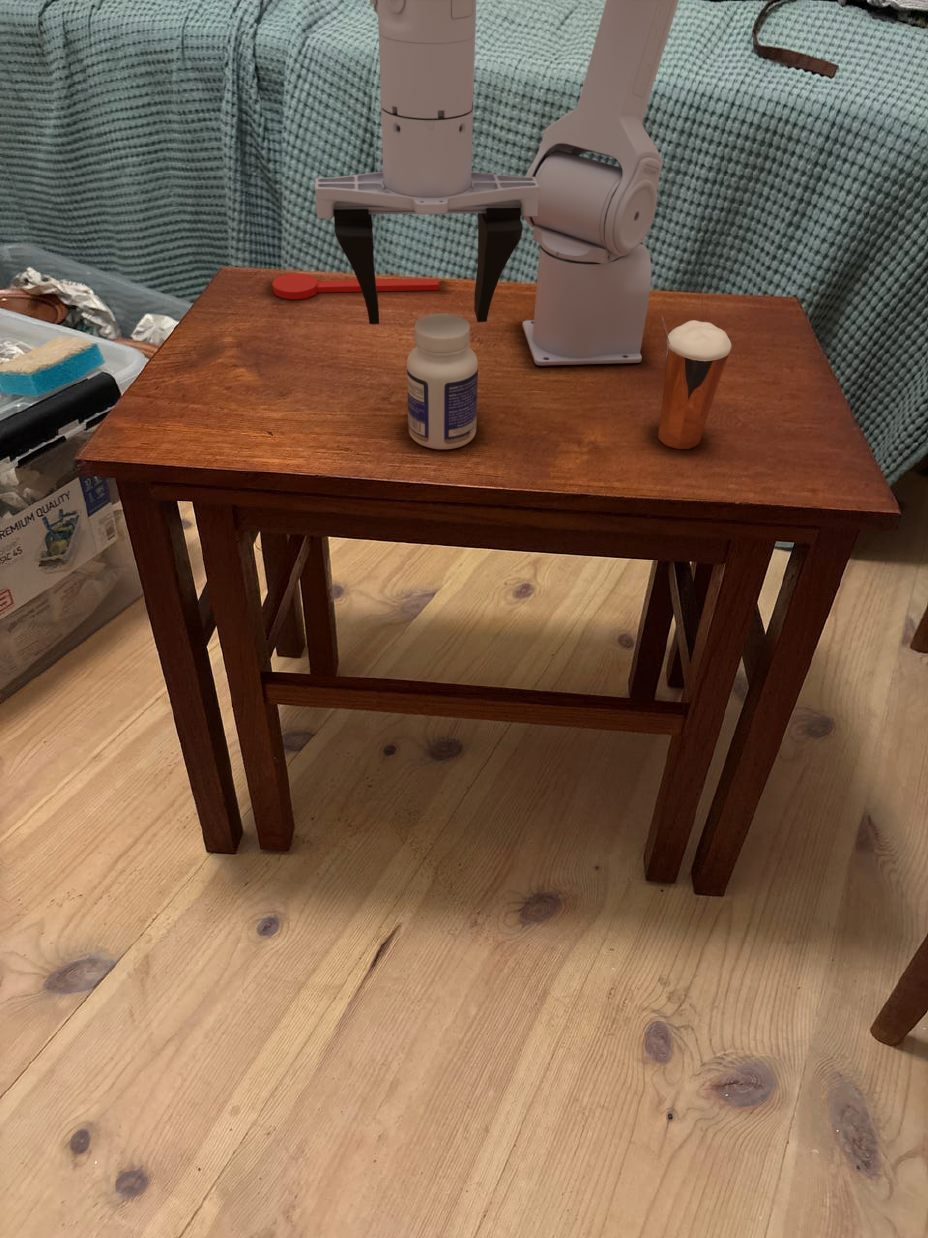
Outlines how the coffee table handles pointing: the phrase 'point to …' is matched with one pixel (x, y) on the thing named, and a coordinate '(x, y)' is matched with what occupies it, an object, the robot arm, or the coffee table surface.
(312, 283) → the red spoon
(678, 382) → the milkshake
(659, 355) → the coffee table surface
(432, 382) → the pill bottle
